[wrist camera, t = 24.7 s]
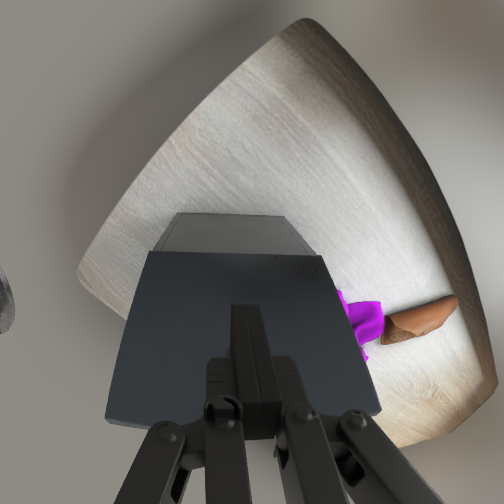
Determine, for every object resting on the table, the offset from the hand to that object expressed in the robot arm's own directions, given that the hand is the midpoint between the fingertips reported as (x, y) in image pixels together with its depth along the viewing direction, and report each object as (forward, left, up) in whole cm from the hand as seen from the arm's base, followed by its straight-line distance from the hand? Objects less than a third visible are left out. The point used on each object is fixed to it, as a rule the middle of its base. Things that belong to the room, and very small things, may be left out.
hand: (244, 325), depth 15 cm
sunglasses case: (+38, -18, -25) cm, 49 cm away
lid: (0, -2, -2) cm, 3 cm away
